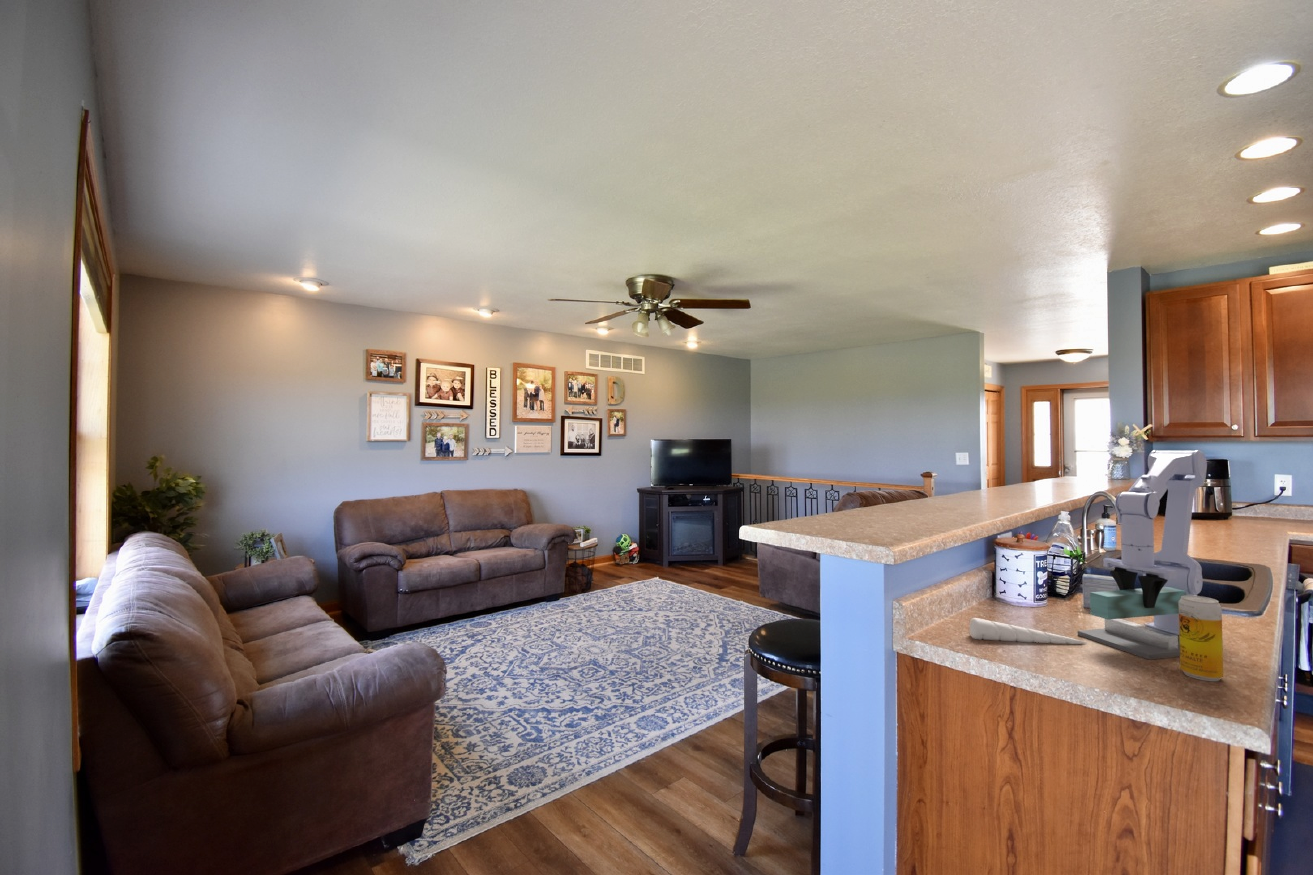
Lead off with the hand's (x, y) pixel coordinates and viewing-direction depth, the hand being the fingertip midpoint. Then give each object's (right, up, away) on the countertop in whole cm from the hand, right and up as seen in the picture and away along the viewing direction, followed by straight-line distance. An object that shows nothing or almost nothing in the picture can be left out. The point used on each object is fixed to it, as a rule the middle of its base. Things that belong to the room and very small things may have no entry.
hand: (1138, 604), depth 128 cm
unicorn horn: (-24, -10, +3) cm, 26 cm away
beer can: (-3, -9, -18) cm, 20 cm away
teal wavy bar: (0, -2, 0) cm, 2 cm away
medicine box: (+14, -10, +28) cm, 33 cm away
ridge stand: (0, -9, 0) cm, 9 cm away
